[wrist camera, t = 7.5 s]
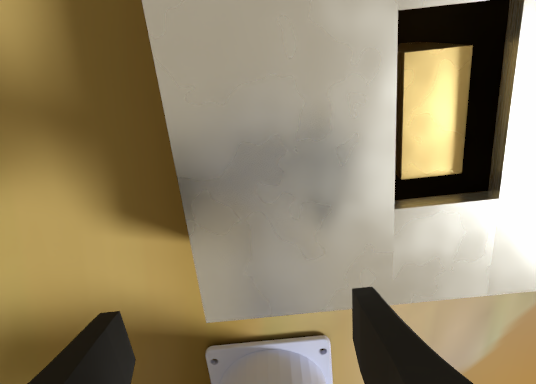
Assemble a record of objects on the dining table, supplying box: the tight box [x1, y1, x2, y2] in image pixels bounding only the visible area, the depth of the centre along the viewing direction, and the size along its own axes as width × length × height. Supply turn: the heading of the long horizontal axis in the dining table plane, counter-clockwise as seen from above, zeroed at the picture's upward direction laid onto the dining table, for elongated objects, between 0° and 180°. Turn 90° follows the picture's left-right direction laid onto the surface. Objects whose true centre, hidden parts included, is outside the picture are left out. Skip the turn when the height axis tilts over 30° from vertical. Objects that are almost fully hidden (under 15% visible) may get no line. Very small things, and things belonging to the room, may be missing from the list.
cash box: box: [142, 0, 536, 323], centre depth 17 cm, size 16×20×6 cm
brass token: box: [395, 42, 473, 180], centre depth 18 cm, size 5×2×5 cm, turn 6°
